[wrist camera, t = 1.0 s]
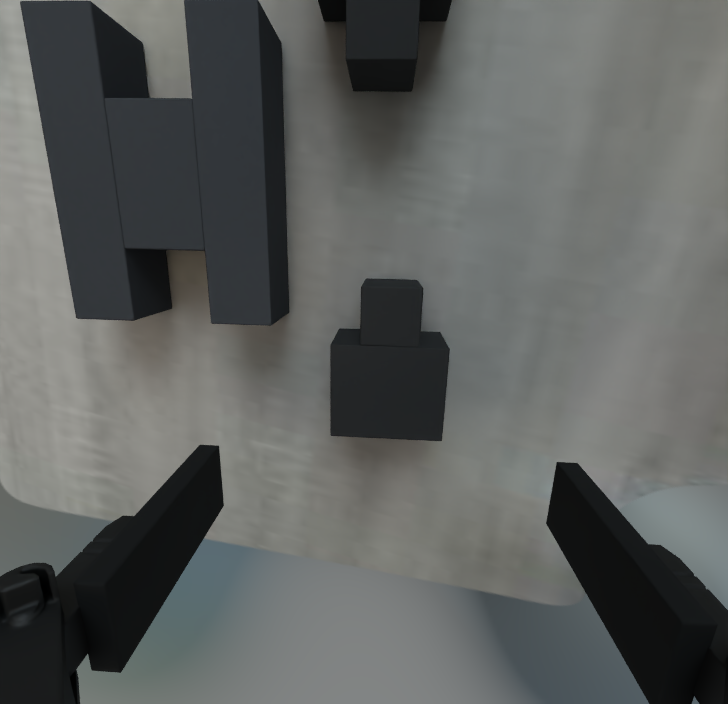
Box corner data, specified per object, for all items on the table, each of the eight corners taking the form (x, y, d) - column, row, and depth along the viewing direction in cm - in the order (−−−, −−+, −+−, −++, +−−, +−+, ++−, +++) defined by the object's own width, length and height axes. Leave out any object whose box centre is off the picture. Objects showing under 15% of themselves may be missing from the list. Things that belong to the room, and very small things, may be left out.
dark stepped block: (444, 280, 26) (454, 288, 22) (434, 412, 29) (441, 441, 25) (339, 277, 27) (330, 284, 23) (338, 407, 29) (330, 436, 25)
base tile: (281, 42, 23) (257, -2, 19) (289, 312, 28) (271, 325, 23) (84, 42, 24) (18, 0, 20) (122, 306, 28) (75, 318, 24)
